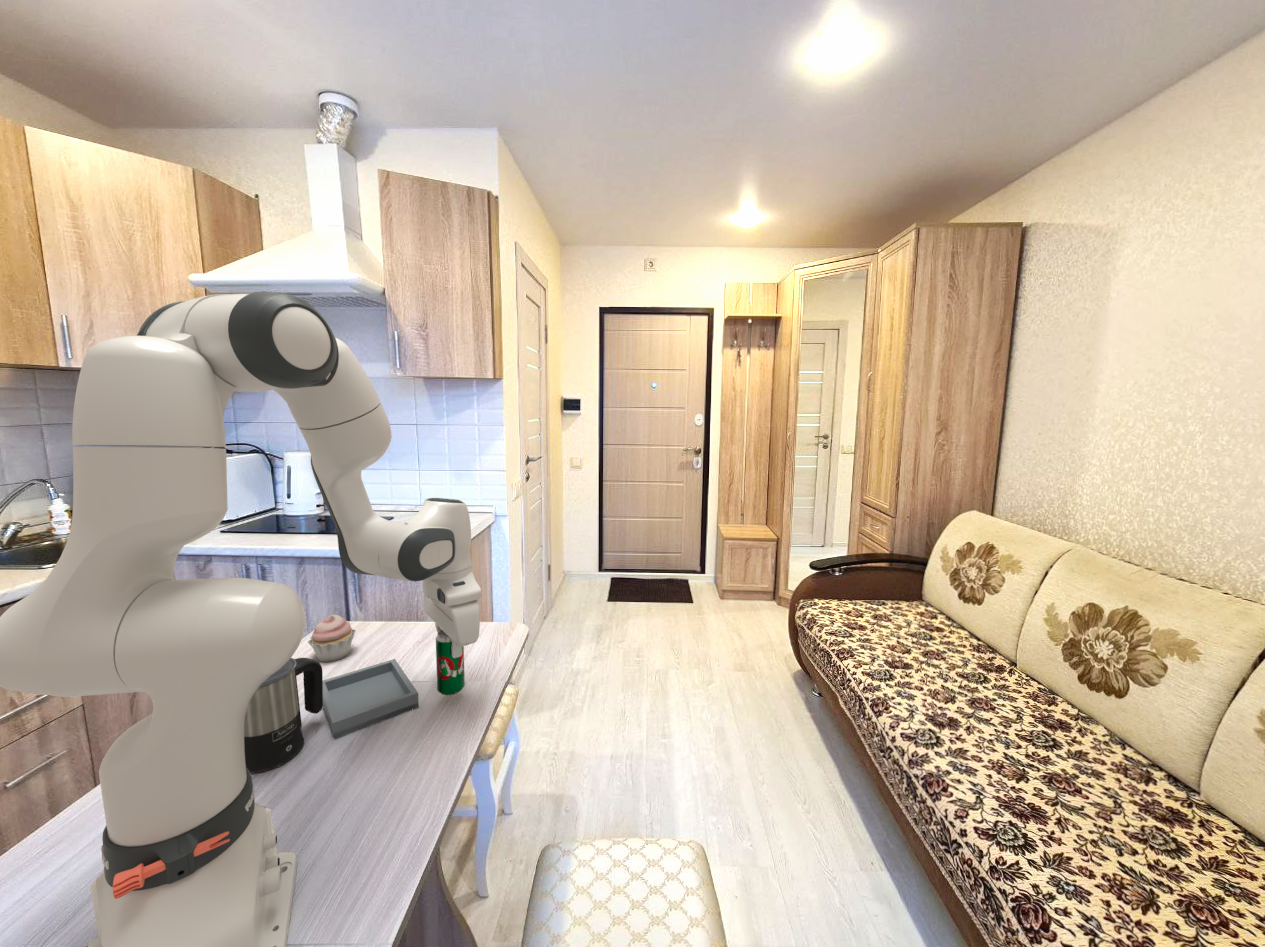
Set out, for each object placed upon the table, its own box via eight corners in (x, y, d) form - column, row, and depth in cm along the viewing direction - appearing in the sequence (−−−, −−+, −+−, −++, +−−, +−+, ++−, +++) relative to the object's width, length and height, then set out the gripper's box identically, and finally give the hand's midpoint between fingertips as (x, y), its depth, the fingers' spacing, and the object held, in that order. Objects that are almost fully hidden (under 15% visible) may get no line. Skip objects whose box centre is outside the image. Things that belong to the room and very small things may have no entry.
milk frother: (276, 776, 74) (268, 688, 72) (176, 773, 74) (165, 685, 72) (334, 717, 88) (329, 642, 86) (250, 715, 88) (243, 639, 86)
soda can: (457, 679, 97) (456, 623, 96) (469, 689, 94) (468, 631, 92) (433, 689, 94) (430, 631, 92) (444, 700, 90) (442, 640, 89)
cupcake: (300, 667, 104) (297, 624, 103) (321, 646, 113) (318, 606, 112) (347, 665, 106) (344, 622, 104) (363, 644, 115) (361, 605, 113)
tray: (418, 707, 91) (418, 692, 91) (333, 739, 82) (332, 723, 82) (395, 671, 103) (394, 658, 103) (319, 696, 94) (318, 682, 94)
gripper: (413, 570, 97) (416, 634, 99) (450, 601, 81) (452, 677, 83) (445, 564, 101) (447, 626, 103) (485, 592, 85) (487, 665, 87)
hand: (450, 649), depth 93 cm, fingers closed on soda can, 5 cm apart
